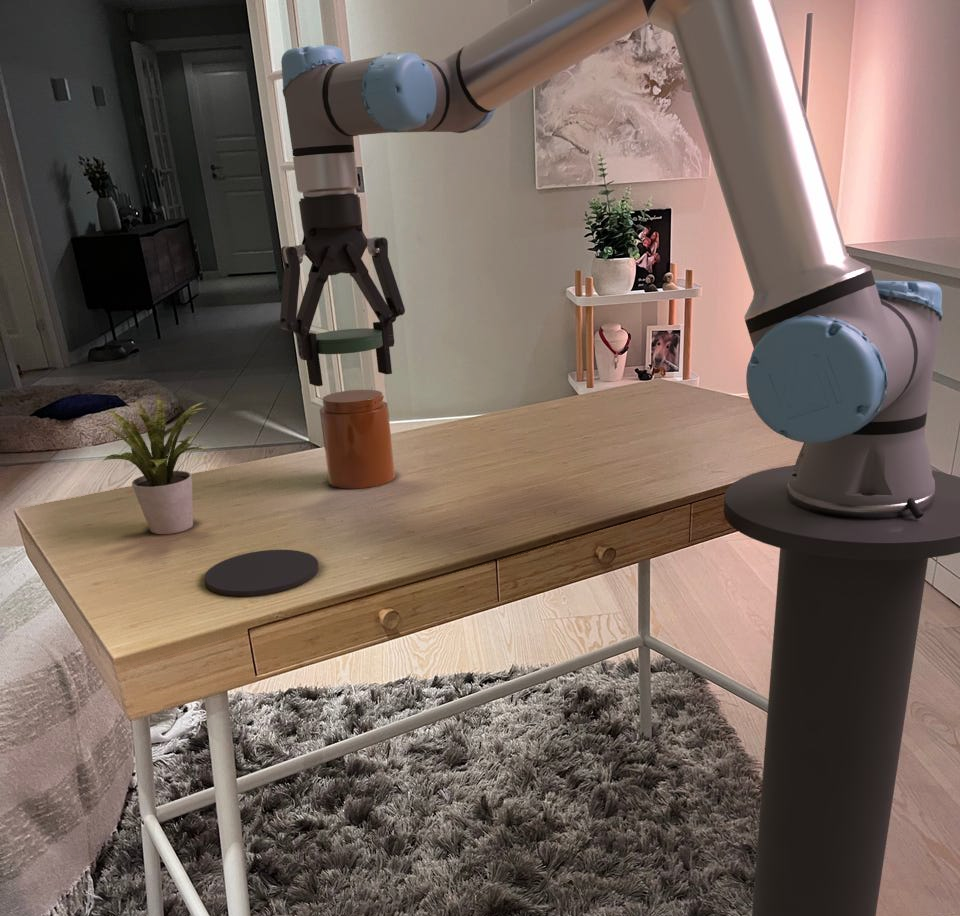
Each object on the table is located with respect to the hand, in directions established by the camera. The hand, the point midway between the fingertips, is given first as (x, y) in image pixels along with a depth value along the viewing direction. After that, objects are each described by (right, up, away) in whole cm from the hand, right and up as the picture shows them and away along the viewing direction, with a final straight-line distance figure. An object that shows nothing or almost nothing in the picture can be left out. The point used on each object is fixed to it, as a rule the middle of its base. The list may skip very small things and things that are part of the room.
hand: (351, 378), depth 129 cm
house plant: (-20, -21, -9) cm, 31 cm away
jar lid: (0, +5, -2) cm, 5 cm away
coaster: (-6, -28, -25) cm, 38 cm away
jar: (+1, -12, +6) cm, 14 cm away
